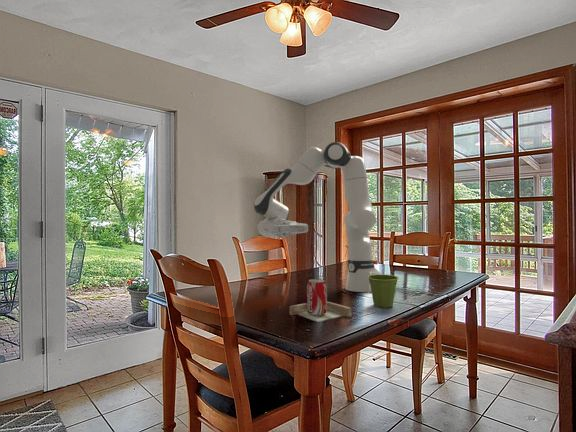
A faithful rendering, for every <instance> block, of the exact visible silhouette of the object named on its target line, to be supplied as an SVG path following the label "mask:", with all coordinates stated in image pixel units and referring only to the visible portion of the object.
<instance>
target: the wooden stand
mask: <svg viewBox="0 0 576 432" xmlns="http://www.w3.org/2000/svg"><path fill="white" fill-rule="evenodd" d="M296 315H297V316H299V317H303V318H306V319H309V320H311V321H314V322H316V323H320V322H321V323H322V322H325V321H329V320H332V319H333V320H335V319H337V318H341V317H347V318H350V317H352V307H349V306H346V305H342V304H338V303H335V302H331V301H328V300H327V312H326V313H325V314H324V315H322V316H312V315H310V314H309V313H308V311H307V302H304V303H300V304H294V305H293V304H292V305H289V316H296Z"/></svg>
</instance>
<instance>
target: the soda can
mask: <svg viewBox="0 0 576 432" xmlns="http://www.w3.org/2000/svg"><path fill="white" fill-rule="evenodd" d="M325 281H326V280H325V279H321V278H314V279H313V278H312V279H308V282H307V284H306V303H307V311H308V313H309V314H310V315H312V316H322V315H324V314H325V313H326V312H327V301H328V294H327V293H328V291H327V289H328V288H327V283H326V282H325Z"/></svg>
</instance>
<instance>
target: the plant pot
mask: <svg viewBox="0 0 576 432" xmlns="http://www.w3.org/2000/svg"><path fill="white" fill-rule="evenodd" d="M367 278H368V279H369V283H370V286H371V291H372V292H371V296H372V302H373V305H374V307H376V308H379V307H381V308H384V309H387V308H392V307H393V305H394V301H395V293H396V287H397V283H398V280H399V276H396V275H391V274H383V273H381V274H378V275H369V276H367Z"/></svg>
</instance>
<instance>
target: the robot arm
mask: <svg viewBox="0 0 576 432" xmlns="http://www.w3.org/2000/svg"><path fill="white" fill-rule="evenodd" d="M323 167H328V168H330V169H341V171H342V174H343V175H342V176H343V186H344V195H345V197H344V198H345V199H346V202H347V206H348V210H349V211H347V212H346V214H345V215H344V223H345V224H344V225H345V232H346V238H347V252H348V255H347V257H348V259H347V262H346V263H347V269H348V270H347V273H346V274H347V276H346V284H345V290H346V291H350V292H357V293H358V292H359V293H372V291H371V286H370V283H369V279H368V278H367V276H369V275H378V274H382V272H380V271H379V270H378V269H377V268H376V267H375V265H378V264H379V261H378V260H377V259H374V260H373V255H372V253H373V251H372V247H373V246H372V241H371V238H370V232H369V231H370V230H371V229H373V227H374V226H375V224H376V222H377V217H376V214H375V212H374V208H373V204H372V202H371V198H370V193H369V182H368V174H367V169H366V165H365V161H364V159H363V158H362V157H361V156H358V155H351V152H350V151H349V150H348V148H347V147H346V146H345V144H343V143H342V142H339V141H333V142H330V143H328V145H326V147H325V149H321V148H319V147H317V146H311V147H309V148H308V149H306V151H305V152H304V153H303V154H302V155H301V157H300V158H299V160H298V161H297V162H296V163H295V164H294V166H292V167H290V168H285V169H284V170H282V172H280V174H278V175H277V177H275V179H274V180H273V181H272V182H271V183H270V184H269V185H268V186H267V187H266V188H265V190H264V191H262V192H261V193H260V194H259V195H257V197H256V198H255V200H254V201H253V208H254V211H255V213H257V214H258V215H261V216H263V217H265V218H264V219H263V220H261V221H259V222H258V224H257V231H258V233H259V234H260V235H261V236H263V237H266V238H276V239H284V238H288V237H289V236H291V237H292V236H296V235H297V234H304V233H305V234H306V233H308V232H309V225H308V224H307V223H301V222H297V221H294V220H293V221H292V220H289V219H290V209H289V207H288V206H286V205H285V204H283V203H282V202H280V201H278V200H277V199H275V198H274V197H275V195H276V194H277V193H278V192H279V191H280V190H281V189H282V188H283V187H284V186H285V185H288V184H293V185H298V186H303V185H304V186H305V185H308V184H310V183H311V182H312V181H313V180H314V179H315V178H316V176H317V174H318V173H319V171H320V170H321V169H322V168H323Z"/></svg>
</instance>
